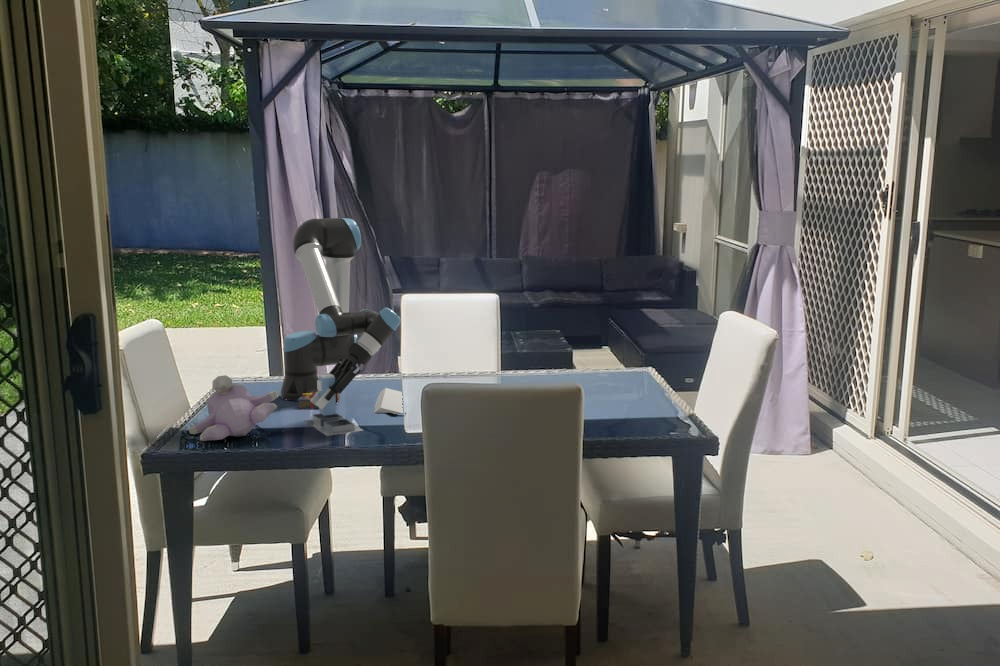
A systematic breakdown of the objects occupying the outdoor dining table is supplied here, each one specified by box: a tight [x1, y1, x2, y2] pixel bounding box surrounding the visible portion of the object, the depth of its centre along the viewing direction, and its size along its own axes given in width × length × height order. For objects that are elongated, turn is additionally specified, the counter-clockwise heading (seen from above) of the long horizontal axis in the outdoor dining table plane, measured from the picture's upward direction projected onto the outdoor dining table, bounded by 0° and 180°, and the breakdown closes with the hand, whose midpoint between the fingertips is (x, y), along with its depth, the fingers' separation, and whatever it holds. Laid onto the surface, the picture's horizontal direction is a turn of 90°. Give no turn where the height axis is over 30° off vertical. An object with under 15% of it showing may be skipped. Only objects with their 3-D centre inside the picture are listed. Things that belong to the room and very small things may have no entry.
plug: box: [317, 372, 337, 416], centre depth 277 cm, size 4×5×13 cm
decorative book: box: [297, 389, 340, 410], centre depth 303 cm, size 11×16×5 cm
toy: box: [187, 375, 279, 442], centre depth 271 cm, size 29×17×30 cm
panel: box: [304, 412, 364, 437], centre depth 275 cm, size 20×12×3 cm, turn 32°
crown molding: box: [373, 387, 403, 415], centre depth 305 cm, size 29×12×4 cm, turn 5°
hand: (315, 405), depth 276 cm, fingers closed on plug, 4 cm apart
